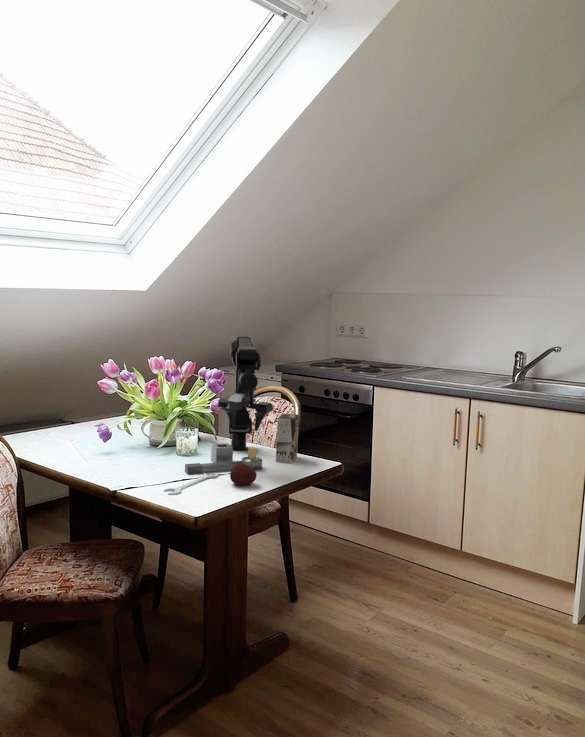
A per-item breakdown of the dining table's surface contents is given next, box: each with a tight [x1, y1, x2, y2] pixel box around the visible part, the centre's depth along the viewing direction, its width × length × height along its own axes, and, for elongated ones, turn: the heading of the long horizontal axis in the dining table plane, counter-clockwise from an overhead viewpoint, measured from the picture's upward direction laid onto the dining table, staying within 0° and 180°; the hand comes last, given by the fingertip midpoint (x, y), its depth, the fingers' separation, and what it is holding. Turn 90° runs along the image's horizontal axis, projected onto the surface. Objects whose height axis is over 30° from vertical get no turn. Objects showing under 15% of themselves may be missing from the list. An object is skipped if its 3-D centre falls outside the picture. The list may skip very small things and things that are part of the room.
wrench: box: [163, 472, 219, 496], centre depth 205 cm, size 25×2×5 cm
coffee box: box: [275, 413, 300, 464], centre depth 237 cm, size 9×6×16 cm
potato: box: [229, 463, 257, 486], centre depth 206 cm, size 7×8×7 cm
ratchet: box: [184, 446, 263, 475], centre depth 221 cm, size 7×26×7 cm, turn 113°
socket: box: [210, 442, 234, 463], centre depth 230 cm, size 6×6×6 cm
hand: (244, 429), depth 226 cm, fingers open, 9 cm apart
